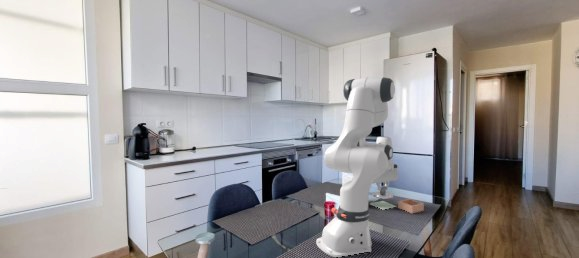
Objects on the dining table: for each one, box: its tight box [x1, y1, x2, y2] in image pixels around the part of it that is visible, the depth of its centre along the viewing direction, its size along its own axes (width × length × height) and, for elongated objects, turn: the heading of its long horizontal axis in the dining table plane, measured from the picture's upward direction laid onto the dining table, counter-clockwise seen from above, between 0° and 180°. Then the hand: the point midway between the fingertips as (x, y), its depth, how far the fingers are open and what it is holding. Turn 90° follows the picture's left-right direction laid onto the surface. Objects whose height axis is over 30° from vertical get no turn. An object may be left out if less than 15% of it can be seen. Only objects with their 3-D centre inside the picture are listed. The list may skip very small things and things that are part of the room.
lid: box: [372, 185, 394, 200], centre depth 143 cm, size 11×11×5 cm
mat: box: [369, 200, 397, 211], centre depth 144 cm, size 10×10×1 cm
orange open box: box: [397, 198, 425, 215], centre depth 138 cm, size 9×9×4 cm
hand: (382, 189), depth 143 cm, fingers closed on lid, 3 cm apart
